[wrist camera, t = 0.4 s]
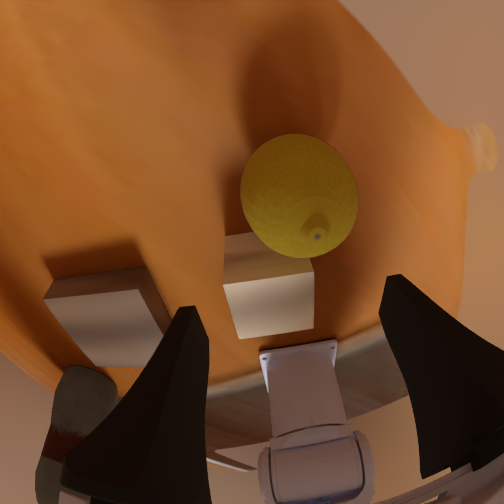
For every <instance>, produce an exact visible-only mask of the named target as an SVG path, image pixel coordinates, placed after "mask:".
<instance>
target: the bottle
mask: <svg viewBox="0 0 504 504" xmlns="http://www.w3.org/2000/svg"><path fill="white" fill-rule="evenodd" d="M117 404H118V392H117V386H116V385H115V383H114V382H113V381H111V380H110V379H109V378H108V377H106V376H104V375H103V374H101V373H99V372H97V371H95V370H92V369H89V368H86V367H82V366H71V367H68V369H67V370H66V371H65V373H64V374H63V376H62V378H61V380H60V382H59V384H58V386H57V388H56V391H55V396H54V401H53V408H52V417H51V425H50V428H49V431H48V434H47V437H46V440H45V443H44V447H43V450H42V453H41V457H40V460H39V463H38V466H37V469H36V474H35V492H36V497H37V501H38V503H39V504H59V495H60V492H61V491H63V492H66V493H69V494H71V495H74V496H77V497H80V498H82V499H85V500H91V496H88V495H85V494H82V493H79V492H76V491H73V490H71V489H68V488H65V487H63V486H61V485H60V477H61V471H62V466H63V460H64V455H65V453H67V452H68V451H69V450H71V449H72V448H73V447H74V446H76V445H77V444H78V443H79V442H80V441H82V440H83V439H84V438H85V437H86V436H88V435H89V434H90V433H91V432H92V431H93V430H94V429H95V428H96V427H97V426H98V425H99V424H100V423H101V422H102V421H103V420H104V419H105V418H106V417H107V416H108V415H109V414H110V413H111V411H112V410H113V409H114V408H115V407H116V406H117Z"/></svg>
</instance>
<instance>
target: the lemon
mask: <svg viewBox="0 0 504 504" xmlns="http://www.w3.org/2000/svg"><path fill="white" fill-rule="evenodd" d="M240 199H241V203H242V208H243V212H244V215H245V217H246V219H247V221H248V223H249V224H250V226H251V228H252V230H253V231H254V233H255V234H256V235H257V237H258V238H259V239H260V240H261V241H262V242H263V243H264V244H265V245H267V246H268V247H269V248H271V249H273V250H274V251H276V252H278V253H280V254H283V255H286V256H290V257H293V258H310V257H316V256H319V255H322V254H325V253H327V252H329V251H331V250H332V249H334V248H336V247H337V246H338V245H339V244H340V243H341V242H343V241H344V240H345V239H346V237H347V236H348V234H349V233H350V231H351V230H352V228H353V225H354V223H355V220H356V218H357V214H358V205H359V198H358V191H357V185H356V181H355V179H354V177H353V174H352V172H351V170H350V168H349V166H348V164H347V163H346V161H345V160H344V159H343V158H342V157H341V155H340V154H339V153H338V152H337V151H336V150H335V149H334V148H333V147H332V146H330V145H328V144H327V143H325V142H324V141H322V140H320V139H318V138H315V137H312V136H308V135H305V134H285V135H281V136H277V137H274V138H272V139H270V140H269V141H267V142H265V143H263V144H262V145H261V146H260V147H259V148H258V149H256V150H255V151H254V152H253V154H252V155H251V157H250V158H249V160H248V161H247V163H246V165H245V167H244V171H243V174H242V177H241V184H240Z"/></svg>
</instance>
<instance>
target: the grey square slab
mask: <svg viewBox="0 0 504 504" xmlns="http://www.w3.org/2000/svg"><path fill="white" fill-rule="evenodd" d="M43 301H44V302H45V304H46V305H47V306H48V308H49V309H50V311H51V312H52V313H53V315H54V316H55V317H56V319H57V320H58V321H59V323H60V324H61V325H62V327H63V328H64V329H65V330H66V332H67V333H68V334H69V335H70V337H71V338H72V339H73V340H74V342H75V343H76V344H77V345H78V346H79V348H80V349H81V350H82V351H83V352H84V353H85V354H86V356H87V357H88V358H89V359H90V360H91V361H92V362H93V363H94V365H95V366H99V367H145V366H146V364H147V363H148V361H149V360H150V358H151V357H152V355H153V353H154V352H155V350H156V348H157V346H158V345H159V343H160V341H161V339H162V338H163V336H164V334H165V332H166V330H167V329H168V327H169V325H170V323H171V321H172V319H171V317H170V316H169V314H168V312H167V310H166V307H165V305H164V303H163V301H162V299H161V297H160V295H159V293H158V291H157V289H156V287H155V285H154V282H153V280H152V278H151V276H150V274H149V271H148V269H147V267H146V266H143V267H137V268H130V269H123V270H116V271H110V272H103V273H96V274H90V275H83V276H76V277H69V278H63V279H56V280H54V281H53V283H52V284H51V286H50V288H49V289H48V291H47V293H46V294H45V296H44V298H43Z"/></svg>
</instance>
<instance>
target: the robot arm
mask: <svg viewBox="0 0 504 504" xmlns="http://www.w3.org/2000/svg"><path fill="white" fill-rule="evenodd" d="M379 316H380V320H381V323H382V326H383V329H384V332H385V336H386V338H387V340H388V342H389V345H390V347H391V349H392V352H393V354H394V356H395V359H396V361H397V363H398V366H399V368H400V370H401V373H402V375H403V378H404V380H405V383H406V386H407V389H408V392H409V396H410V400H411V404H412V408H413V413H414V418H415V423H416V429H417V436H418V444H419V455H420V473H421V476H422V479H425V478H427V477H429V476H432V475H434V474H436V473H438V472H440V471H442V470H444V469H446V468H448V467H450V468H451V473H449V474H447V475H445V476H443V477H441V478H439V479H437V480H434V481H432V482H430V483H428V484H426V485H423V486H421V487H419V488H416V489H414V490H411V491H409V492H406V493H404V494H401V495H399V496H396V497H393V498H390V499H387V500H384V501H381V502H378V503H374V504H420V503H422V502H424V501H427V500H429V499H431V498H433V497H435V496H437V495H439V496H438V499H437V500H434V501H431V502H428V503H425V504H504V351H503V350H501V349H500V348H498V347H496V346H494V345H493V344H491V343H489V342H487V341H486V340H484V339H483V338H481V337H480V336H478V335H477V334H475V333H474V332H472V331H471V330H469V329H468V328H467V327H465V326H464V325H462V324H461V323H460V322H458V321H457V320H456V319H455V318H453V317H452V316H451V315H449V314H448V313H447V312H446V311H444V310H443V309H442V308H441V307H440V306H438V305H437V304H436V303H435V302H434V301H432V300H431V299H430V298H429V297H428V296H427V295H425V294H424V293H423V292H422V291H421V290H419V289H418V288H417V287H416V286H415V285H414V284H412V283H411V282H410V281H409V280H408V279H406V278H405V277H404V276H403V275H401V274H397V275H392V276H387V278H386V283H385V287H384V292H383V296H382V301H381V305H380V309H379ZM337 346H338V343H337V340H335V339H333V340H327V341H322V342H316V343H311V344H305V345H299V346H293V347H286V348H279V349H272V350H265V351H261V352H260V353H259V358H260V362H261V366H262V370H263V375H264V379H265V383H266V387H267V391H268V393H269V401H270V412H271V422H272V433H273V438H272V439H270V447H265V448H264V449H263V451H262V452H261V453H260V454H259V458H258V478H259V486H260V491H261V494H262V497H263V499H264V501H265V504H370V503H371V502H372V501H373V496H374V494H375V492H374V477H375V465H374V458H373V453H372V449H371V446H370V442H369V440H368V438H367V436H366V435H365V434H363V433H362V432H360V431H359V430H355V431H353V430H352V425H351V424H347V420H346V416H345V412H344V407H343V403H342V399H341V395H340V391H339V387H338V383H337V379H336V375H335V371H334V364H335V358H336V352H337ZM208 374H209V338H208V336H207V334H206V331H205V329H204V326H203V324H202V321H201V319H200V316H199V314H198V311H197V309H196V306H185V307H179V309H178V310H177V312H176V314H175V315H174V317H173V319H172V321H171V323H170V325H169V327H168V329H167V330H166V332H165V334H164V336H163V338H162V339H161V341H160V343H159V345H158V346H157V348H156V350H155V352H154V353H153V355H152V357H151V358H150V360H149V361H148V363H147V364H146V366H145V368H144V369H143V371H142V372H141V374H140V375H139V377H138V378H137V380H136V381H135V383H134V384H133V385H132V387H131V388H130V389H129V391H128V392H127V393H126V395H125V396H124V397H123V398H122V400H121V401H120V402H119V403H118V404H117V406H116V407H115V408H114V409H113V410H112V411H111V413H110V414H109V415H108V416H107V417H106V418H105V419H104V420H103V421H102V422H101V423H100V424H99V425H98V426H97V427H96V428H95V429H94V430H93V431H92V432H91V433H90V434H89V435H88V436H86V437H85V438H84V439H83V440H82V441H80V442H79V443H78V444H77V445H76V446H74V447H73V448H72V449H71V450H69V451H68V452H67V453H65V455H64V460H63V466H62V471H61V477H60V485H61V486H63V487H65V488H68V489H71V490H73V491H76V492H79V493H82V494H85V495H88V496H91V500H85V499H82V498H80V497H77V496H74V495H71V494H69V493H66V492H63V491H61V492H60V495H59V504H212V501H211V495H210V488H209V481H208V472H207V462H206V447H205V406H206V395H207V385H208Z"/></svg>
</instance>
